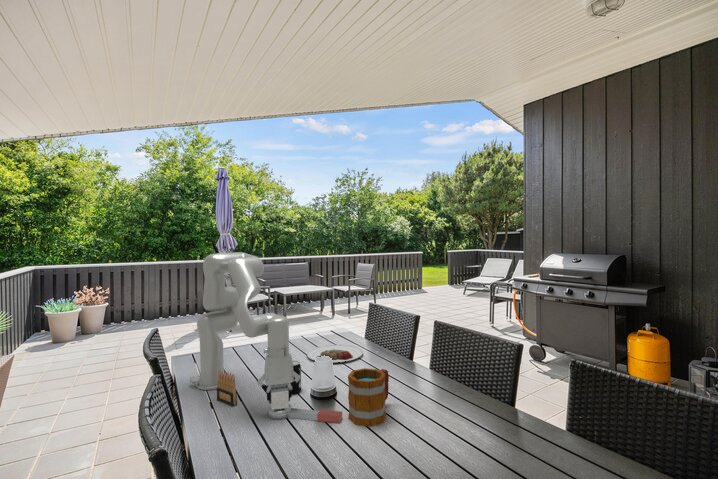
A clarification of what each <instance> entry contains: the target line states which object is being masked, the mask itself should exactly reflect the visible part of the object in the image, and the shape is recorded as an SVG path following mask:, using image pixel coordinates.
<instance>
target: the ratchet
mask: <svg viewBox="0 0 718 479" xmlns="http://www.w3.org/2000/svg"><path fill="white" fill-rule="evenodd" d="M267 410H268V412H267V417H268V418H269V419H270V420H272V421H279V420H280V421H281V420H282V421H283V420H285V419H288V418H290V419H296V420H297V419H298V420H299V419H300V420H307V421H309V420H310V421H317V422H322V423H335V424H340V423H341V422H342V419H343V411H342V410H341V411H339V410H329V409H320V410H313V409H304V408H303V409H301V408H293V407H292V405H291V404H289V407H288V408H281V409H274V410H271V405H270V406H269V407H268V409H267Z"/></svg>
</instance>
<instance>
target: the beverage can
mask: <svg viewBox="0 0 718 479" xmlns="http://www.w3.org/2000/svg"><path fill="white" fill-rule="evenodd" d="M292 361H293V371H294V372H296V373H297V374H298V375H299V376H300V380H299V381H298V382H297V383H296V385H295V386H294V387H293V388H292V390H291V392H292V395H296V394H299V393H300V392H301V391H302V365H301V364H300V363H301V362H300V361H299V360H292ZM294 379H295V377H294Z"/></svg>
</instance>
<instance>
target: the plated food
mask: <svg viewBox="0 0 718 479" xmlns="http://www.w3.org/2000/svg"><path fill="white" fill-rule="evenodd" d="M363 354H364V352H363V349H362V348H360V347H359V346H358V347H357V346H354V345H351V344H350V345H349V344H348V345H347V344H328V345H322V346H317V347H314V348H312V349H310V350H308V351H307V353H306V355H307V358H309V359H310V360H313V361H315V359H316V358H317V357H321V356H324V355H325V356H329V357H330V358H332V360H333V363H334V364H337V363H338V362H340V363H345V361H346V362H350V361H353V360H354V361H355V360H356V359H359V358H361V357H362V356H363ZM333 363H332V364H333ZM338 364H339V363H338Z"/></svg>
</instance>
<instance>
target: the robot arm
mask: <svg viewBox="0 0 718 479" xmlns="http://www.w3.org/2000/svg"><path fill="white" fill-rule="evenodd" d="M264 270H265V265H264V261H262V259H261V258H260V257H258V256H256V255H253V254H250V253H249V254H248V253H246V252H241V251H240V252H236V251H235V252H218V253H217V252H216V253H211V254H208V255H206V256H205V258H204V260H203V264H202V271H203V275H204V277H203V278H204V283H203V295H202V306H203V308H204V309H205V310H206V311H209V312H206V313H203V314H201V315H200V316H199V317H198V318H197V321H196V328H197V332H198V338H199V362H200V363H199V364H200V366H199V368H200V374H199V375H197V376H191V377H189V382H190V383H192V384H194V383H196V388H197V389H199V390H201V391H202V390H203V391H211V390H217V387H218V372H219V370H220V371H221V372H222V371H223V373H224V372H225V368H224V367H225V366H224V365H225V364H224V342H223V340H222V339H221V338H220V336H219V334H221V333H225V332H229V331H233V330H235V329H236V328H237V327H238V325H239V327H240V329H241V331H242V333H243V335H244V336H246V337H247V338H253V339H254V338H257V337H260V336H265V335H267V348H265V349H263V354H266V356H265V360H264V369H263V370H264V371H263V372H264V373H263V374H262V375H261V377H259V379H258V380H257V381H256V384H257V385H258V386H259V387H260V388H261V389H263V391H265V392H266V402H268V403H269V405H271V390H270V389H271V387H272V386H273V385H282V384H287V385H288V395H289V402H291V398H292V395H293V394H292V392H291V390H292V388H293V387H294V386H295V385H296V383H297V382H298V381H299V380H300V376H299V375H298V374H297V373H296V372H294V371H293V361H294V360H293V356H292V354H291V353H290V330H289V328H290V327H289V326H290V325H289V319H288V317H286V316H282V315H279V314H276V313H275V312H268V313H263V314H256V315H253V316H252V315H251V313H250V311H249V308H248V302H249V301H251V300H253V298H255V297H257V296H258V295H259V294H260V292H261V288H262V287H261V285H260V284H259V281H258V279H257V278H258V277H261V276H262V275H263V273H264V272H265V271H264ZM224 274H229V275H230V278H231V280H232V282H233V284H234V286H226V276H225V275H224ZM294 377H295V379H294ZM263 381H264V382H263Z"/></svg>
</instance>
